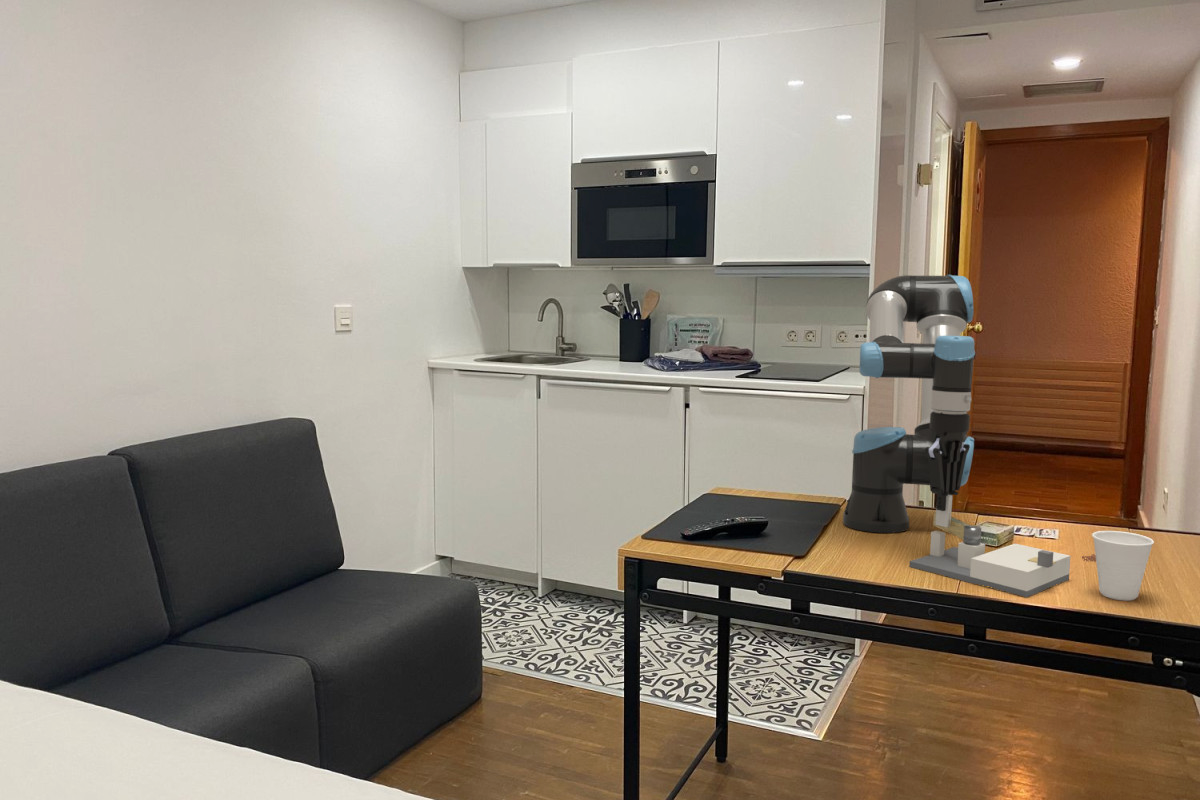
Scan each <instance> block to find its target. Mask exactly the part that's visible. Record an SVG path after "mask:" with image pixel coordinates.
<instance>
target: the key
mask: <svg viewBox="0 0 1200 800" xmlns="http://www.w3.org/2000/svg"><path fill="white" fill-rule="evenodd" d="M1081 556H1082V558H1081V559H1084V560H1083V561H1085V560H1086V561H1085V562H1093V561H1095V563H1096V555H1095V554H1093V553H1092V554H1091V555H1081ZM1085 558H1086V559H1085ZM1087 558H1088V559H1087ZM1089 560H1090V561H1089Z"/></svg>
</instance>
